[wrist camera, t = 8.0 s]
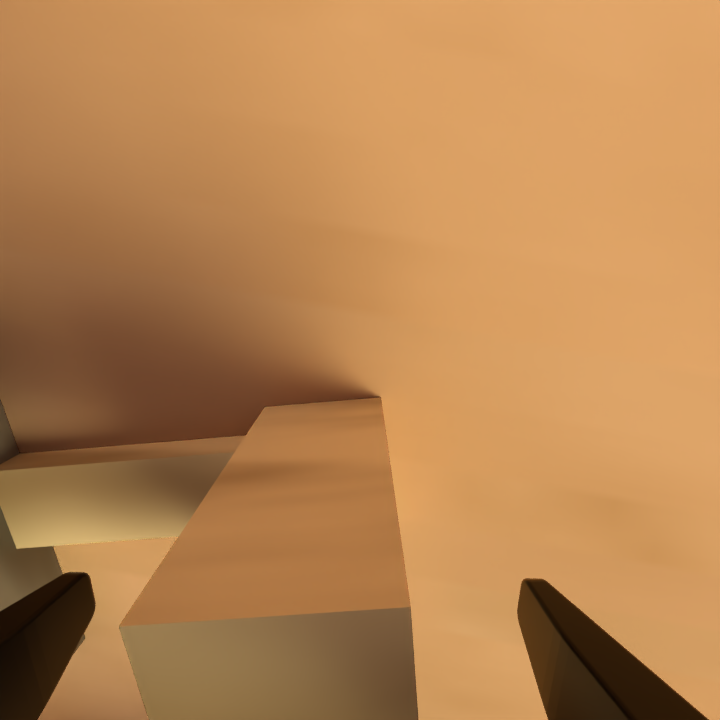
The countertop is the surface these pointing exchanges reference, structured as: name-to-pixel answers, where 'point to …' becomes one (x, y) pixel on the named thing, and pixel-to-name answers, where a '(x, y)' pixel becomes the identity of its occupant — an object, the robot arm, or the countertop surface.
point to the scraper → (238, 562)
